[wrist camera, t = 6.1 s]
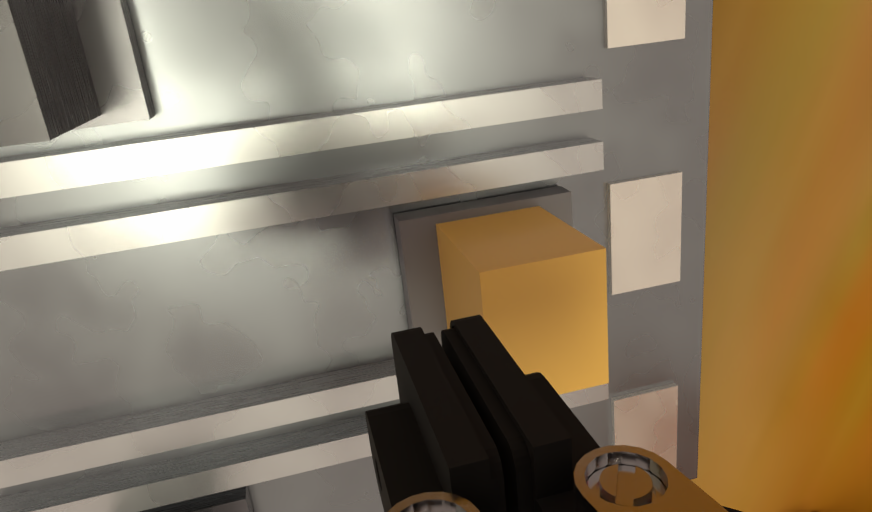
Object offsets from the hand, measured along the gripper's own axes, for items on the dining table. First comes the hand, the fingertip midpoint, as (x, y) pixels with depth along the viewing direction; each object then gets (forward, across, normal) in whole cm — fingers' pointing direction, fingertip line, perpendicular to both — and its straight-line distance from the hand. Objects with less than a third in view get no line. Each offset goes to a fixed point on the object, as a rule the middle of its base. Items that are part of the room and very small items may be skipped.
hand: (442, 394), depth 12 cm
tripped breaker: (+7, -3, +1) cm, 8 cm away
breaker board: (+9, +2, +1) cm, 10 cm away
